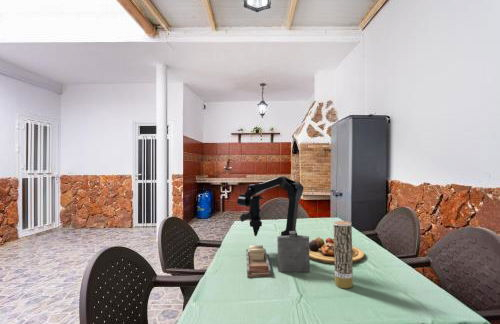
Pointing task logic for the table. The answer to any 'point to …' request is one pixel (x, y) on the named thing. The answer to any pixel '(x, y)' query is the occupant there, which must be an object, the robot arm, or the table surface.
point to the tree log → (343, 254)
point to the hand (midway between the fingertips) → (255, 235)
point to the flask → (293, 253)
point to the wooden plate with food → (330, 251)
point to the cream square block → (256, 252)
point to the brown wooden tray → (258, 266)
